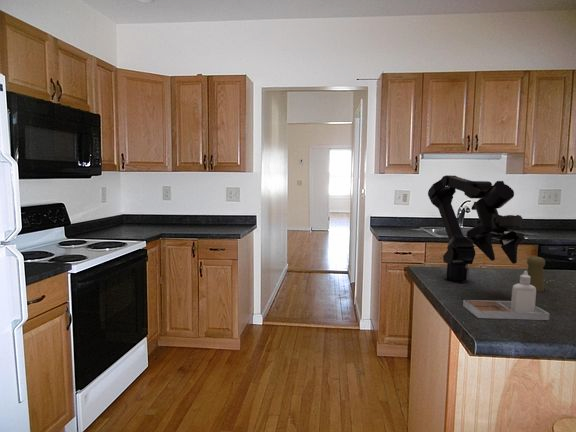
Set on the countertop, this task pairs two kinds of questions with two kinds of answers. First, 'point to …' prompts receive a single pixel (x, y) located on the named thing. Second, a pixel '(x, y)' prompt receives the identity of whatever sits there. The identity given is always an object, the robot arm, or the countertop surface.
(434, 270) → the countertop surface
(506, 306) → the tray
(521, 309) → the eye dropper bottle
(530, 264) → the cork
